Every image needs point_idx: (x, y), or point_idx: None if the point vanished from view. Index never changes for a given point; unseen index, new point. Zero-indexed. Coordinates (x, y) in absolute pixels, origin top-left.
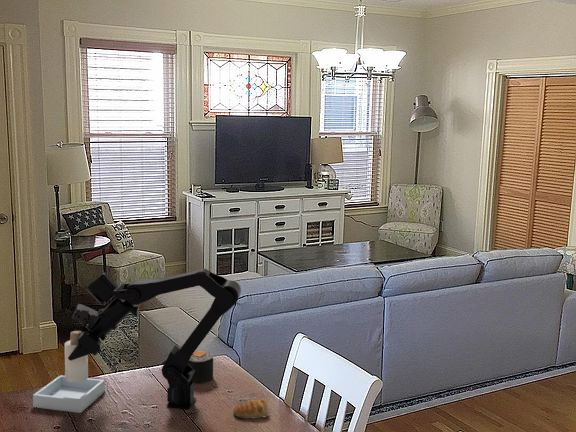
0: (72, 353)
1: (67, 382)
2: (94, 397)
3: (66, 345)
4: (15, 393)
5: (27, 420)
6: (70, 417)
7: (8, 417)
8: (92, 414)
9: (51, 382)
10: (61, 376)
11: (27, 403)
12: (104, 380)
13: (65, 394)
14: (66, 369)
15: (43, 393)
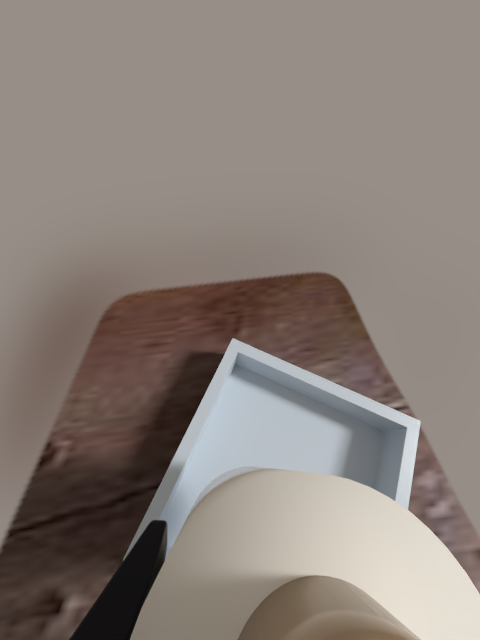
0: (90, 614)
1: (389, 456)
2: None
3: (223, 514)
4: (336, 294)
5: (136, 348)
6: (109, 499)
7: (174, 296)
8: None
9: (344, 392)
10: (407, 427)
11: (261, 334)
12: None
13: (306, 456)
14: (213, 483)
15: (273, 373)
